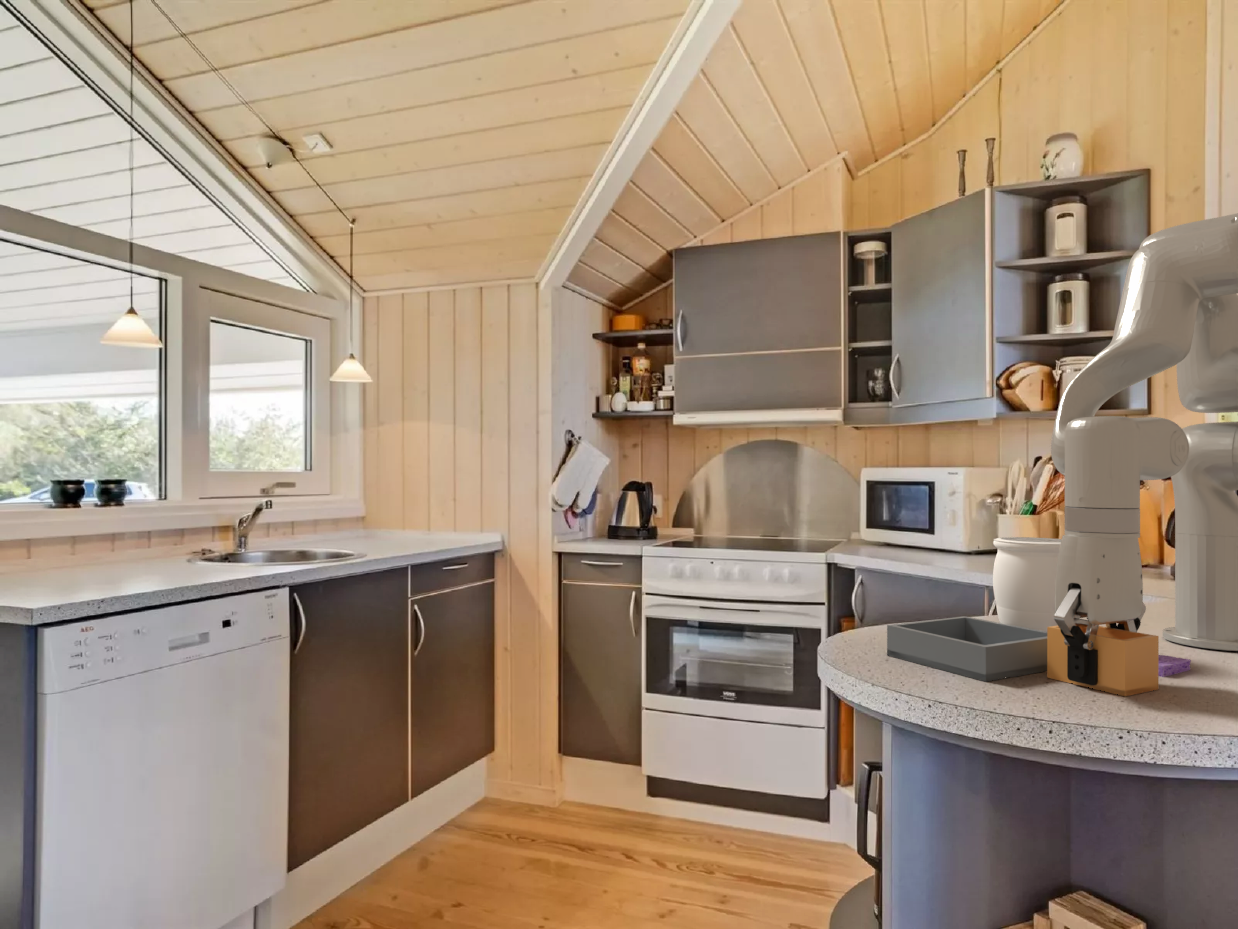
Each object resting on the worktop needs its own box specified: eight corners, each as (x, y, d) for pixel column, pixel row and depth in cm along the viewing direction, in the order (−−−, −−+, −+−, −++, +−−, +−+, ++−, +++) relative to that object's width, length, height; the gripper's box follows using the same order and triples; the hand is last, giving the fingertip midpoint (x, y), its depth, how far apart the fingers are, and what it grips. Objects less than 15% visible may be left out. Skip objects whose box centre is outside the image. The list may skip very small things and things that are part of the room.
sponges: (1163, 681, 96) (1163, 665, 96) (1059, 659, 107) (1059, 645, 107) (1192, 674, 100) (1192, 659, 100) (1089, 653, 111) (1089, 640, 111)
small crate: (1080, 671, 99) (1080, 622, 99) (1158, 689, 91) (1158, 635, 91) (1047, 677, 96) (1047, 626, 96) (1124, 696, 88) (1124, 641, 88)
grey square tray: (964, 644, 114) (964, 616, 114) (1066, 667, 100) (1066, 635, 100) (887, 655, 107) (887, 625, 107) (985, 681, 93) (985, 647, 93)
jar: (983, 647, 112) (983, 539, 112) (1003, 636, 120) (1004, 535, 120) (1069, 659, 105) (1069, 544, 105) (1085, 646, 113) (1085, 539, 113)
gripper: (1113, 520, 101) (1113, 664, 100) (1023, 523, 92) (1023, 680, 92) (1178, 523, 94) (1178, 677, 94) (1087, 527, 86) (1087, 696, 86)
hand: (1101, 677), depth 93 cm, fingers closed on small crate, 6 cm apart
